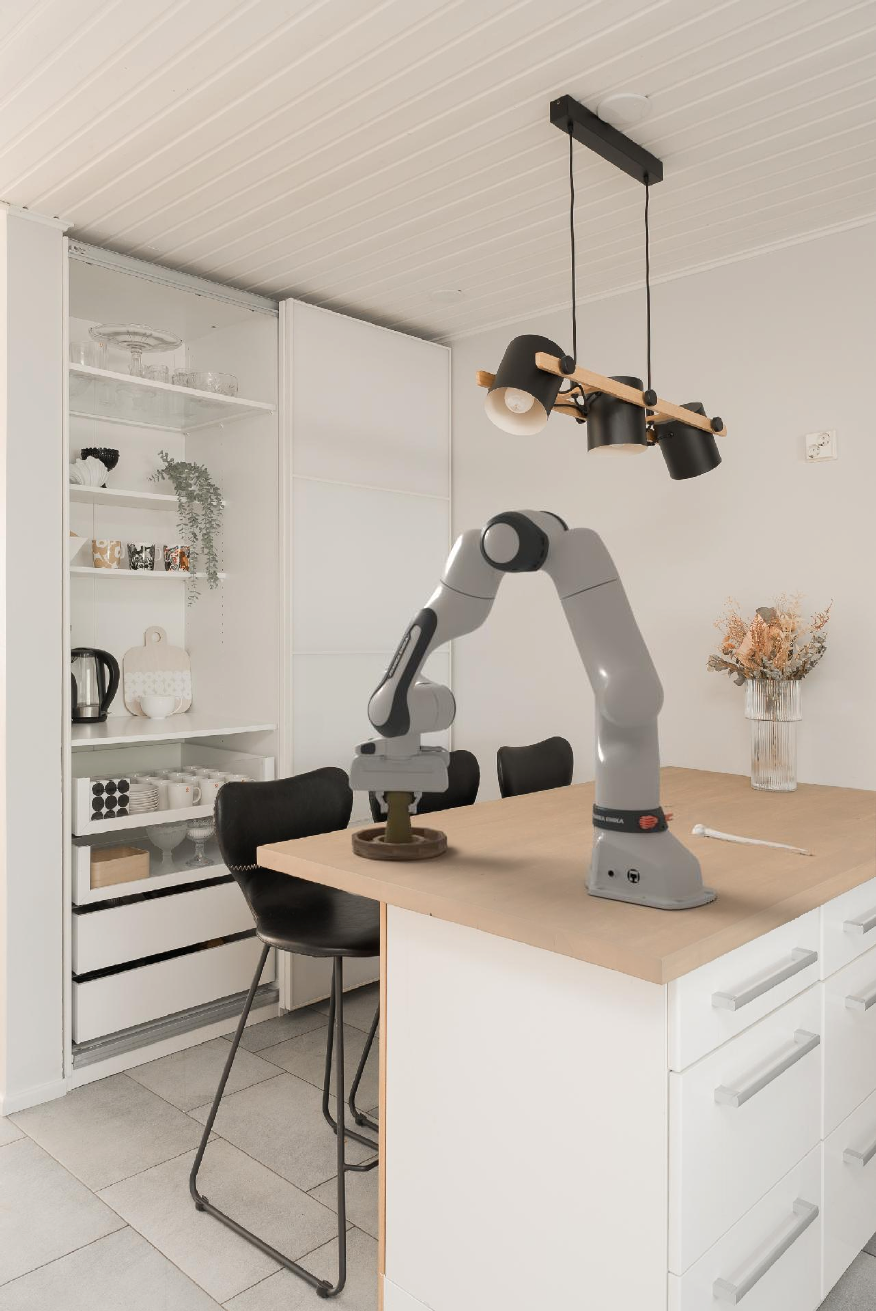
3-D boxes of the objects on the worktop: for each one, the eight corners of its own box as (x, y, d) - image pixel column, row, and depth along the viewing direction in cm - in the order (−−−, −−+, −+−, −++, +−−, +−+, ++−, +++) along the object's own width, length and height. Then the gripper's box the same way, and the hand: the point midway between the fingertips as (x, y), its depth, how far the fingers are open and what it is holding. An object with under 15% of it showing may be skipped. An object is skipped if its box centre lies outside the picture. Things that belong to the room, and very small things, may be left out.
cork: (409, 847, 188) (409, 793, 188) (380, 846, 190) (380, 791, 190) (416, 841, 194) (417, 788, 194) (388, 840, 196) (388, 787, 195)
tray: (464, 851, 191) (464, 836, 191) (390, 865, 179) (390, 849, 179) (406, 836, 205) (406, 823, 205) (334, 848, 193) (334, 834, 193)
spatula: (819, 855, 190) (819, 841, 190) (809, 858, 188) (809, 844, 188) (699, 834, 211) (699, 821, 211) (689, 836, 209) (689, 823, 209)
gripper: (450, 744, 194) (450, 811, 194) (352, 743, 196) (352, 809, 196) (448, 747, 188) (448, 816, 188) (347, 746, 189) (347, 814, 189)
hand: (398, 813), depth 192 cm, fingers closed on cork, 4 cm apart
